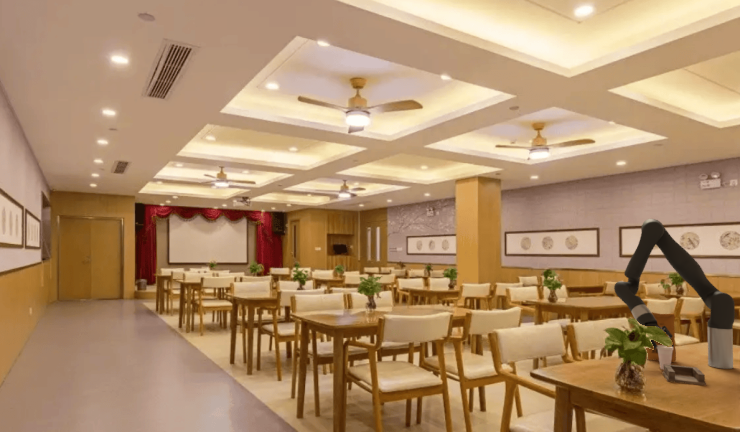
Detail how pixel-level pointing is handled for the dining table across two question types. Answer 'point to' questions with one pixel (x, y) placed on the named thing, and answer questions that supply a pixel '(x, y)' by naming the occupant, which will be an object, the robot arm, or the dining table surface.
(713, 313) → the robot arm
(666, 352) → the smoothie
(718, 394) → the dining table surface
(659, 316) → the coffee package
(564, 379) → the dining table surface
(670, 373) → the grey open-sided tray
